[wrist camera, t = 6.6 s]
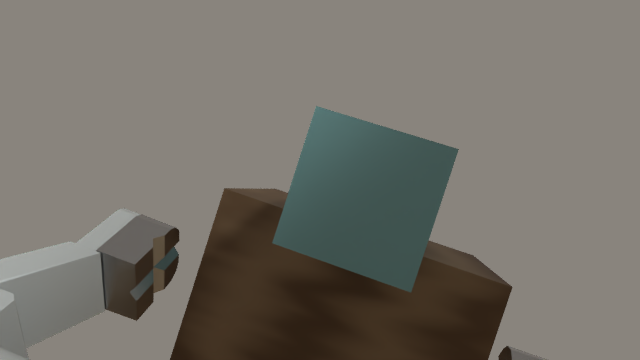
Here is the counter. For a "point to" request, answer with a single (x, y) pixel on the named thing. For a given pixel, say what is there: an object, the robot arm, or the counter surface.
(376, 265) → the teal bar
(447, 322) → the walnut stand
